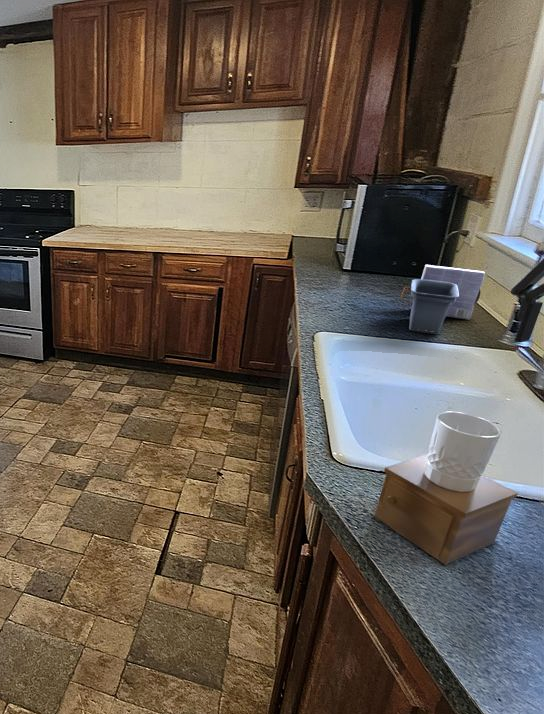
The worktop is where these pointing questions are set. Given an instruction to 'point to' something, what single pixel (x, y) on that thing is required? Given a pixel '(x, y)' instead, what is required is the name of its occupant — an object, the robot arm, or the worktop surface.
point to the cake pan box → (466, 285)
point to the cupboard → (441, 511)
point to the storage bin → (430, 304)
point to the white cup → (460, 450)
